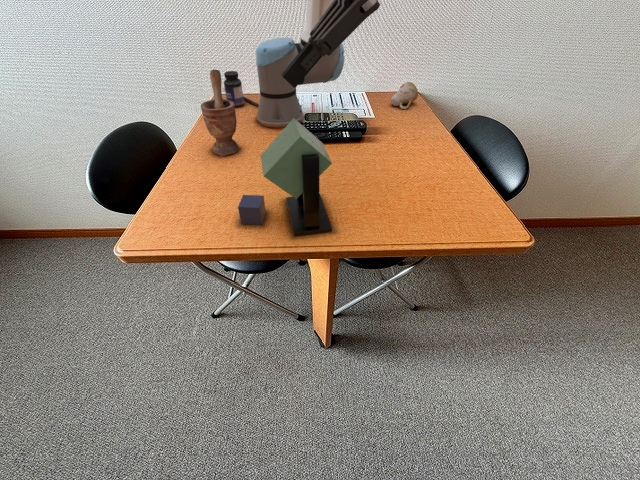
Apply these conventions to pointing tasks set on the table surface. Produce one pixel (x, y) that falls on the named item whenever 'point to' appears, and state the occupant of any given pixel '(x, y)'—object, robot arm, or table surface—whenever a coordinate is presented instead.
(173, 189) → the table surface
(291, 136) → the green square planter
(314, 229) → the stand
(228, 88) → the pill bottle
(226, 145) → the mortar and pestle
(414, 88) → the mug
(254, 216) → the block
